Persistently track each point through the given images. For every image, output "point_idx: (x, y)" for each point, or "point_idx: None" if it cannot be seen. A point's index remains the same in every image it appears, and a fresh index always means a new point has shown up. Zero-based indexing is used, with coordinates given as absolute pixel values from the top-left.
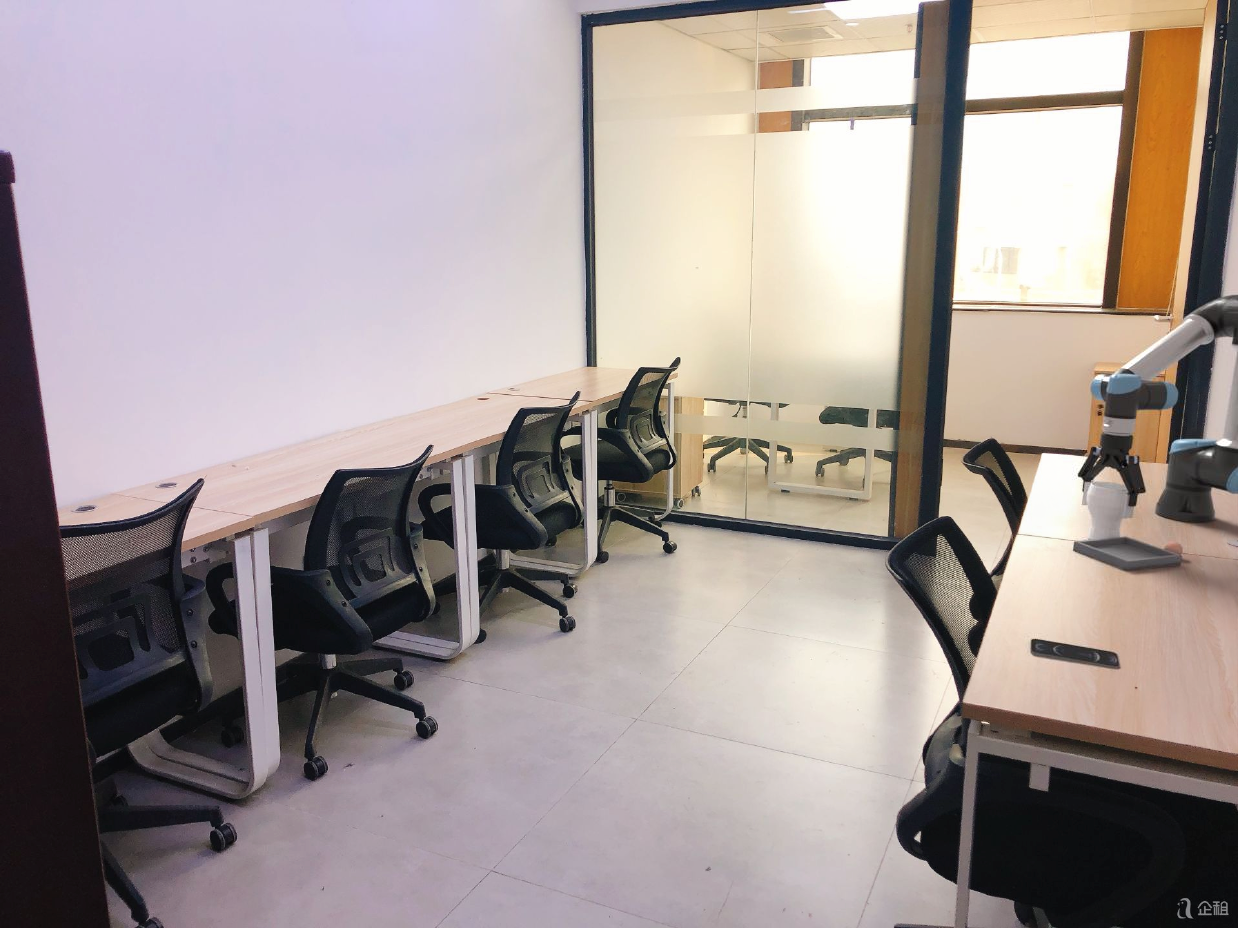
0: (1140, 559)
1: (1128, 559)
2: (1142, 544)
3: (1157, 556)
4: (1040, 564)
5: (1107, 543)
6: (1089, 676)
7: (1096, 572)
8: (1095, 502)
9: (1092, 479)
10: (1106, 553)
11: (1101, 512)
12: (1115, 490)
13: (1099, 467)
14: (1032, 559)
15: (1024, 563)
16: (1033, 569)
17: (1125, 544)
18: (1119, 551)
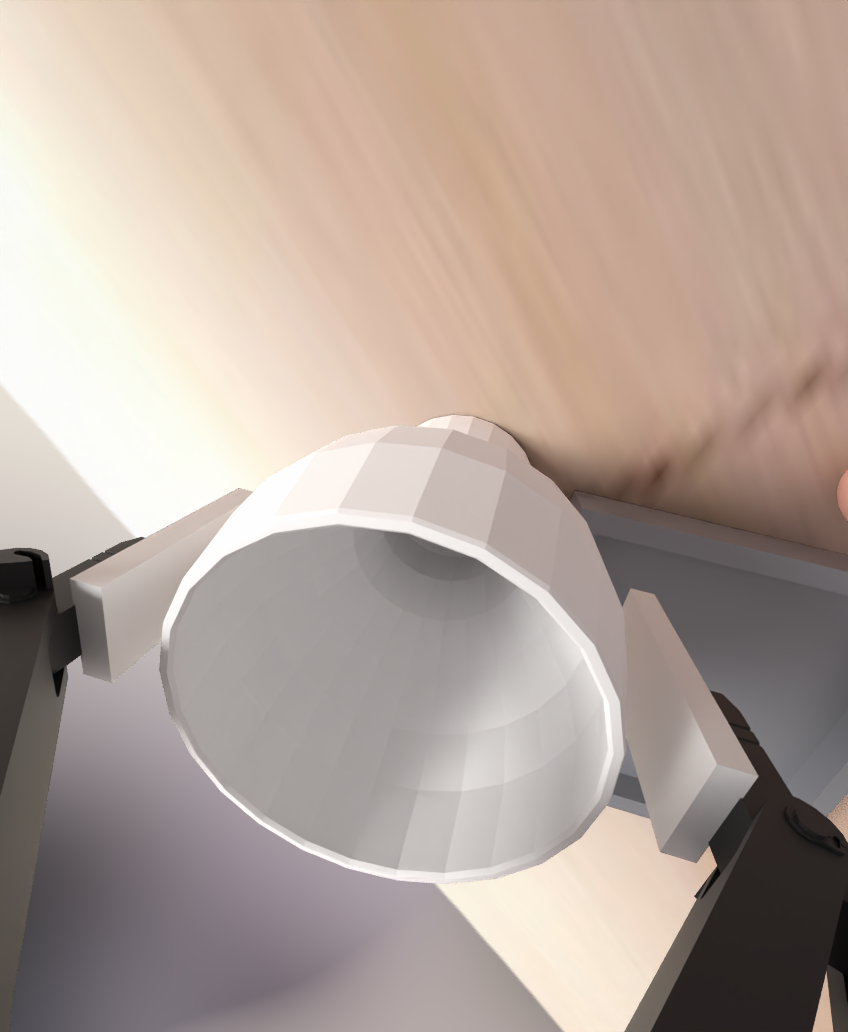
0: (823, 808)
1: None
2: (716, 560)
3: (823, 600)
4: (525, 912)
5: None
6: None
7: (688, 884)
8: (408, 748)
9: (54, 607)
10: None
11: (462, 682)
12: (538, 859)
13: (8, 971)
14: (480, 889)
15: (493, 927)
16: (542, 952)
17: (601, 535)
18: None
